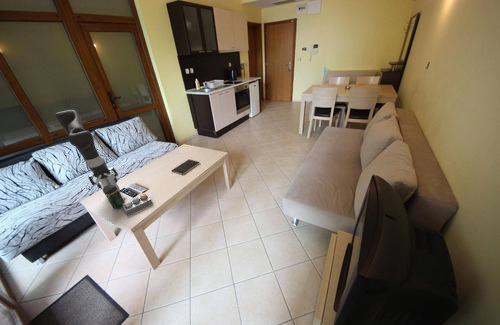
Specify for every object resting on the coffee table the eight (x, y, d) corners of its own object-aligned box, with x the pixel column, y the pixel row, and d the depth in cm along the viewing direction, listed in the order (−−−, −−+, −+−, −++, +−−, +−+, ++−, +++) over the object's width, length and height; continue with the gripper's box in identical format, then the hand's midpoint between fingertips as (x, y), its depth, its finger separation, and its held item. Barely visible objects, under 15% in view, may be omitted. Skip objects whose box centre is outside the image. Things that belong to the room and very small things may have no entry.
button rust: (141, 199, 150) (139, 195, 148) (146, 196, 152) (144, 193, 150) (142, 201, 147) (140, 197, 145) (148, 199, 149) (146, 195, 147)
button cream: (126, 206, 144) (123, 202, 142) (131, 204, 146) (129, 200, 144) (127, 209, 141) (124, 205, 139) (133, 206, 143) (130, 202, 141)
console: (124, 207, 147) (122, 203, 145) (148, 196, 157) (146, 192, 155) (127, 215, 139) (125, 211, 137) (152, 203, 148) (150, 199, 146)
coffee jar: (127, 204, 151) (117, 185, 141) (117, 210, 145) (106, 191, 136) (121, 200, 155) (110, 182, 146) (111, 207, 149) (99, 188, 140)
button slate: (133, 203, 147) (131, 199, 145) (139, 200, 149) (137, 196, 147) (135, 205, 144) (132, 201, 142) (140, 202, 146) (138, 198, 144)
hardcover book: (200, 163, 196) (199, 161, 195) (183, 175, 180) (182, 173, 179) (189, 160, 204) (188, 159, 203) (171, 172, 187) (171, 170, 186)
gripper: (109, 157, 121) (120, 178, 130) (81, 166, 114) (95, 187, 122) (110, 161, 116) (122, 182, 125) (82, 170, 109) (96, 192, 117)
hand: (109, 185), depth 123 cm, fingers open, 8 cm apart
